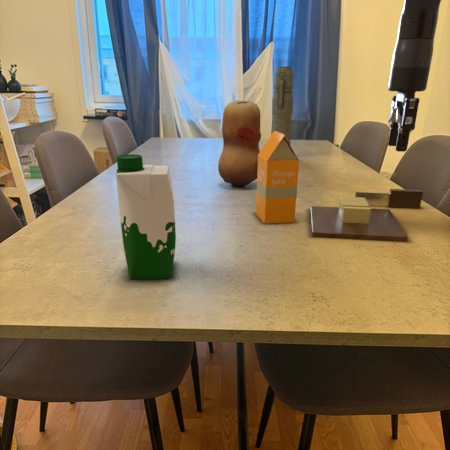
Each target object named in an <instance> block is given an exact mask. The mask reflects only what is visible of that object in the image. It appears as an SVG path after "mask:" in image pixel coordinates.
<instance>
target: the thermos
mask: <svg viewBox="0 0 450 450" xmlns="http://www.w3.org/2000/svg"><path fill="white" fill-rule="evenodd" d="M293 88H294V71H293V68H292V67H291V66H279V67H276V71H275V74H274V91H273V96H272V101H271V115H272V122H271V123H272V125H271V134H272V133H273V132H274V131H277V132H279V133H282V134H284V135H285V137H286V139H287V141H288V142H289V144H290V145H291V138H290V137H291V122H292V115H293V111H294V109H293V108H294V97H293Z"/></svg>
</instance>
